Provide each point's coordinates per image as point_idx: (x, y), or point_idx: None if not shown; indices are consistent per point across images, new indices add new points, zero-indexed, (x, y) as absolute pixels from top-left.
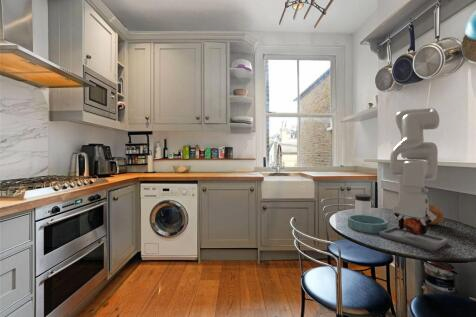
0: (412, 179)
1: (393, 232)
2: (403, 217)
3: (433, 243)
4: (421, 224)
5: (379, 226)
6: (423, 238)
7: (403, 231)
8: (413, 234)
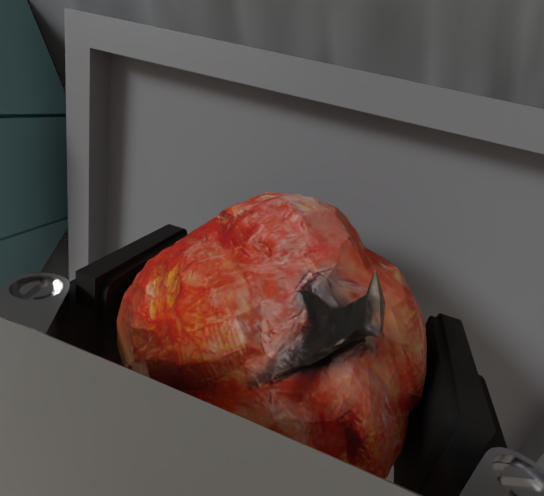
0: None
1: (136, 210)
2: (58, 328)
3: (525, 363)
4: (402, 371)
5: (4, 257)
6: (424, 234)
7: (193, 81)
8: (308, 135)
